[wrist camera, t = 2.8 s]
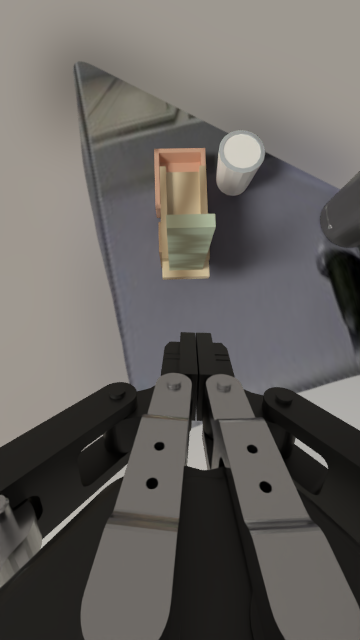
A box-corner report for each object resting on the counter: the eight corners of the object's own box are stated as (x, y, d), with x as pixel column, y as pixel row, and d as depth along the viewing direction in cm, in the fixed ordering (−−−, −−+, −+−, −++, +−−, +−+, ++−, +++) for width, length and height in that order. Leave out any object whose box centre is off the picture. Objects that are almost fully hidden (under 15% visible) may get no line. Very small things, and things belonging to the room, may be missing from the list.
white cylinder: (231, 154, 48) (240, 120, 41) (260, 180, 47) (275, 150, 40) (204, 180, 47) (209, 151, 40) (233, 207, 46) (244, 181, 40)
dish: (203, 161, 47) (205, 148, 44) (205, 216, 46) (207, 207, 43) (155, 161, 47) (154, 149, 44) (156, 217, 46) (155, 208, 43)
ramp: (203, 176, 38) (218, 85, 25) (208, 278, 36) (226, 236, 23) (160, 177, 38) (152, 85, 25) (163, 279, 36) (156, 238, 23)
